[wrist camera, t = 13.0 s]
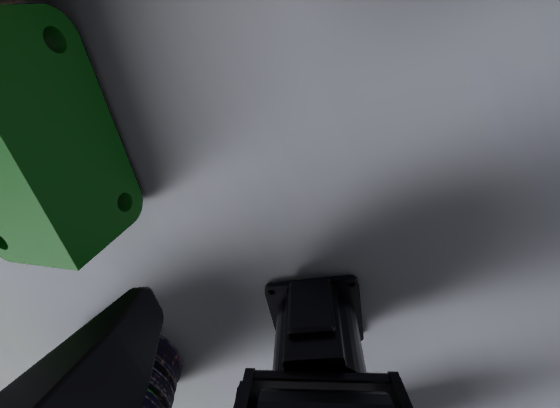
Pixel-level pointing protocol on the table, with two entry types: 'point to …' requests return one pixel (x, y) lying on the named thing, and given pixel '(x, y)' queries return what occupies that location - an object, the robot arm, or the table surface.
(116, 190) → the clamp
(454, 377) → the table surface
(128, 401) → the robot arm
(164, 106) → the table surface
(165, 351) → the storage jar
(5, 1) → the socket board
